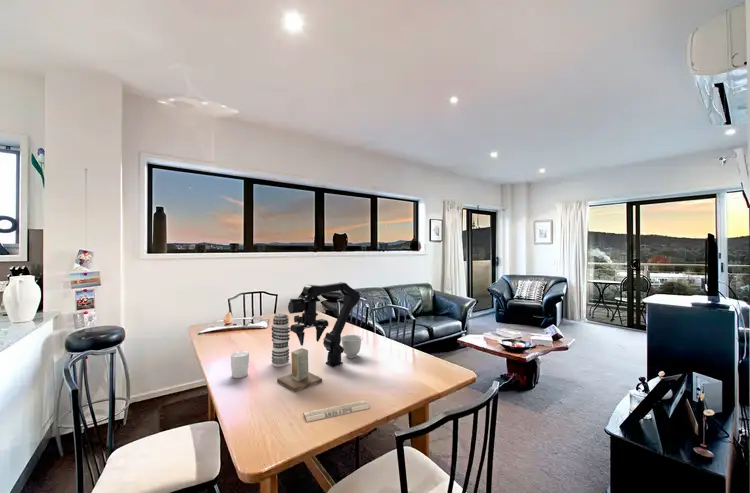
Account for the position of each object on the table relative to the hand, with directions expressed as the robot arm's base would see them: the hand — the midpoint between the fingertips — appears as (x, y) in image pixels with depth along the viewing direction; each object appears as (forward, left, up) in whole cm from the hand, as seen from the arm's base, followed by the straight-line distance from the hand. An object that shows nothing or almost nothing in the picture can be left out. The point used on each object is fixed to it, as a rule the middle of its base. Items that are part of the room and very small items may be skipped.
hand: (309, 343), depth 156 cm
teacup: (-29, -1, -13) cm, 32 cm away
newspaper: (+16, +39, -14) cm, 45 cm away
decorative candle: (+5, -18, -13) cm, 23 cm away
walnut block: (+11, +8, -14) cm, 19 cm away
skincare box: (+11, +8, -12) cm, 18 cm away
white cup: (+26, -18, -13) cm, 34 cm away
